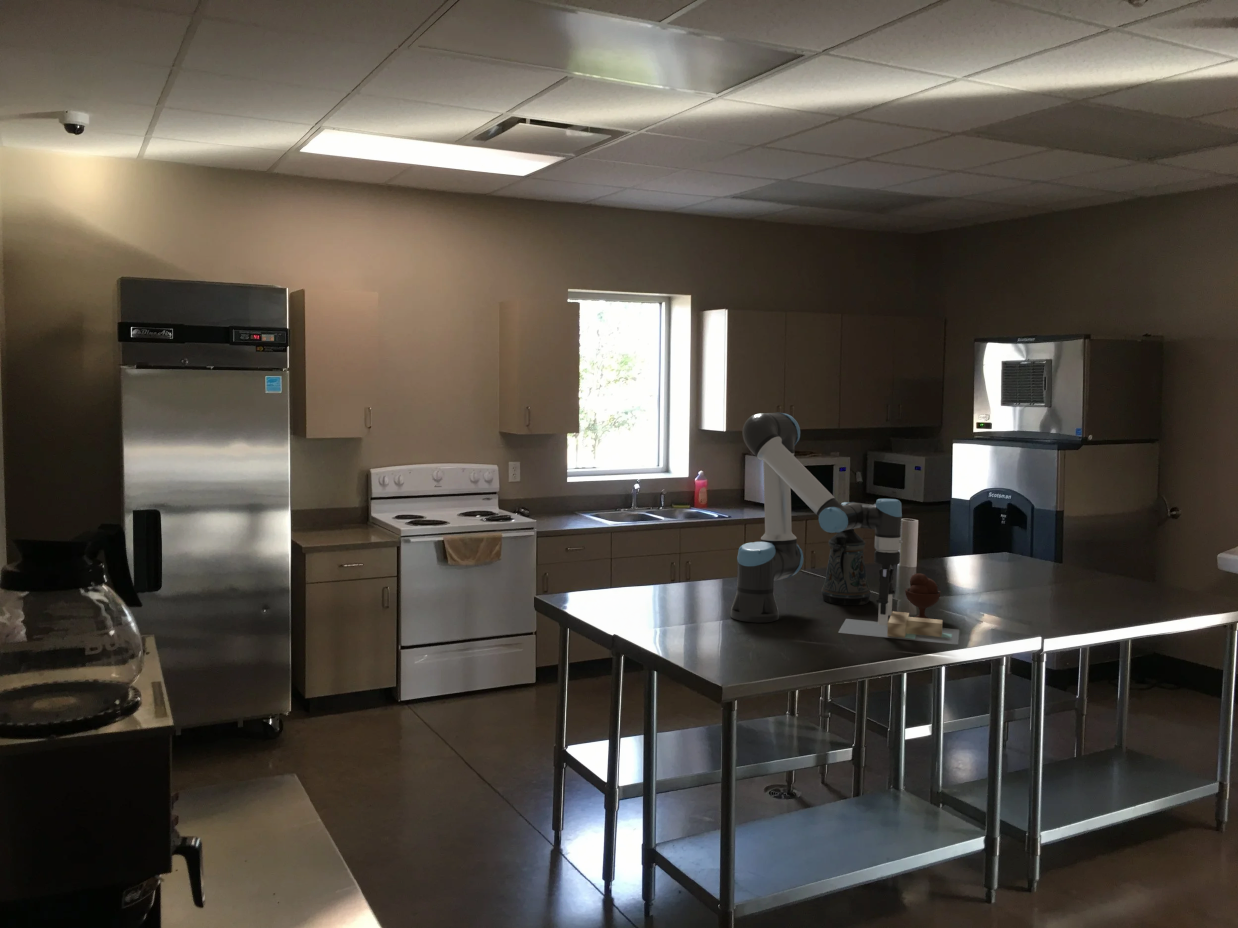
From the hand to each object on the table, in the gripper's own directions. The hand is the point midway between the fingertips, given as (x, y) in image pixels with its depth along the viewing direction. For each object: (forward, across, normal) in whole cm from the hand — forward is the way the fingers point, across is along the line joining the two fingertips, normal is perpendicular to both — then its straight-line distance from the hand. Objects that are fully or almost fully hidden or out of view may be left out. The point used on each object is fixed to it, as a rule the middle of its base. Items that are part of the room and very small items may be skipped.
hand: (884, 619), depth 302 cm
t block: (+3, 0, -9) cm, 9 cm away
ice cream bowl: (+4, +19, -10) cm, 22 cm away
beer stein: (+4, +38, +16) cm, 42 cm away
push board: (+3, 0, -4) cm, 5 cm away
